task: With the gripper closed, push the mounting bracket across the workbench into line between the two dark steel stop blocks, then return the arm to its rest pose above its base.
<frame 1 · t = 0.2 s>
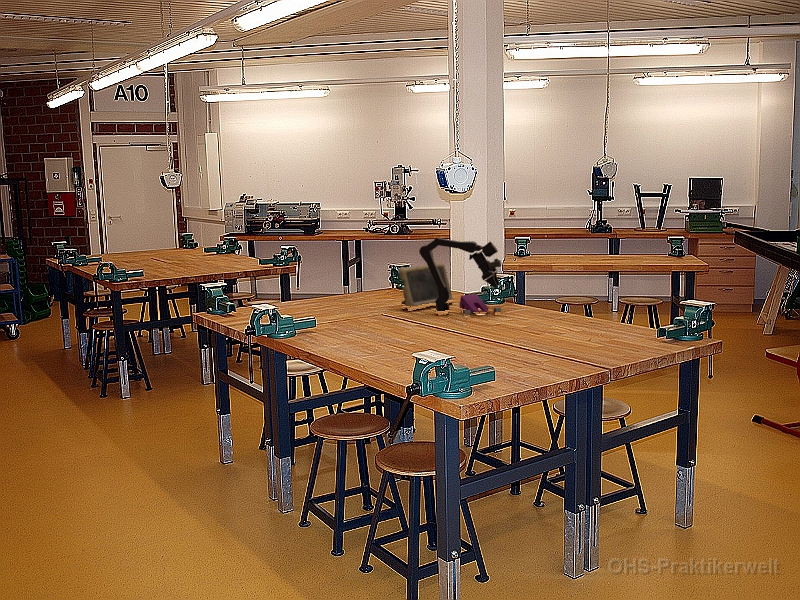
hand: (498, 286, 437), 15 cm above the table, tool tilted 30°, fingers open, 9 cm apart
stop blocks: (482, 316, 434), on the table
mounting bracket: (475, 314, 445), on the table
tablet: (426, 307, 474), on the table
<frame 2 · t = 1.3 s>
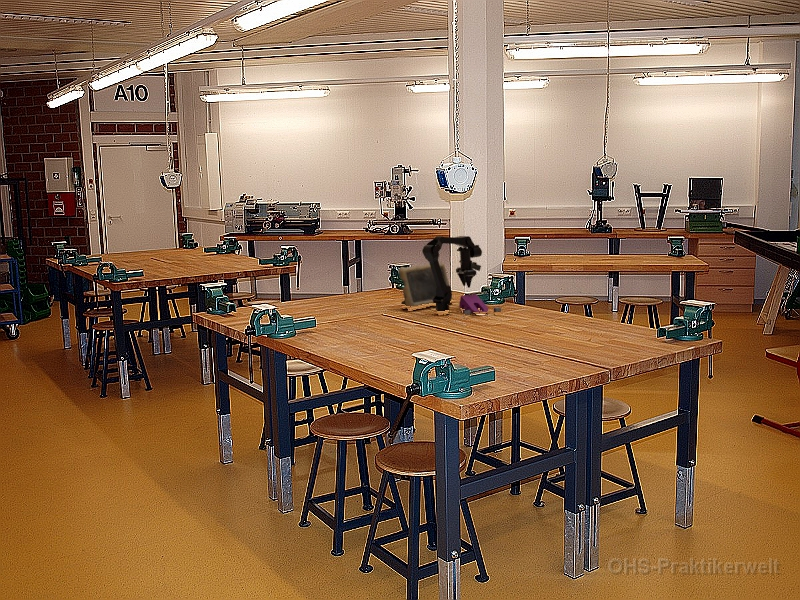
hand: (466, 286, 456), 13 cm above the table, tool pointing down, fingers open, 8 cm apart
nothing on the table moved.
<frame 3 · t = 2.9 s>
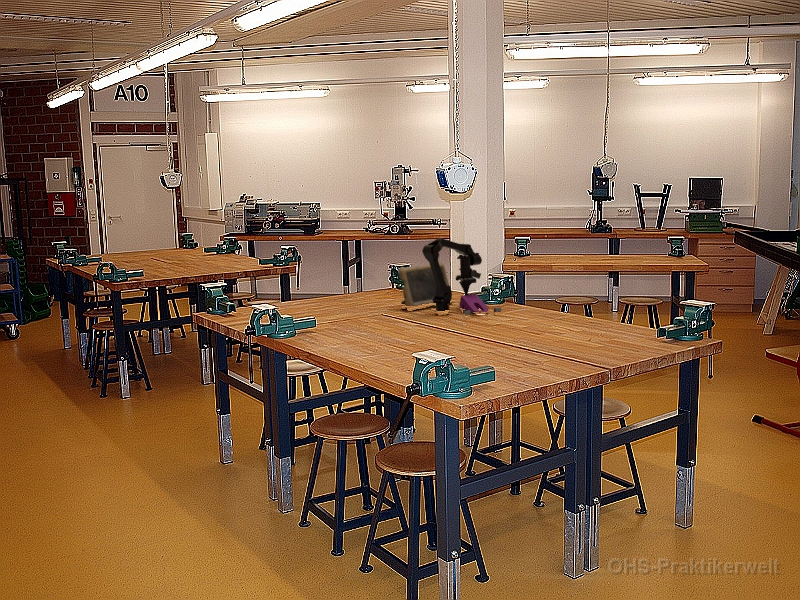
hand: (466, 294, 457), 9 cm above the table, tool pointing down, fingers closed
nothing on the table moved.
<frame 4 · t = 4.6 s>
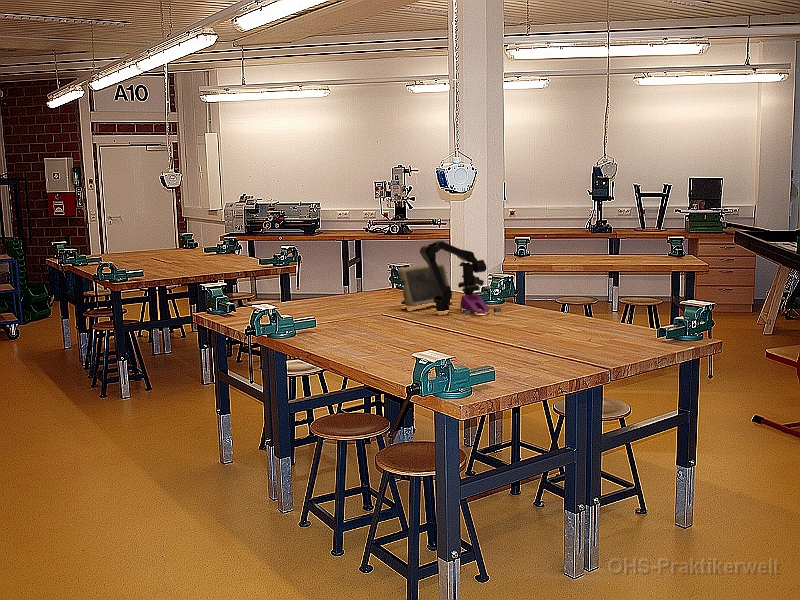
hand: (469, 301, 453), 5 cm above the table, tool pointing down, fingers closed
mounting bracket: (476, 314, 444), on the table, touching gripper
everything else where it was.
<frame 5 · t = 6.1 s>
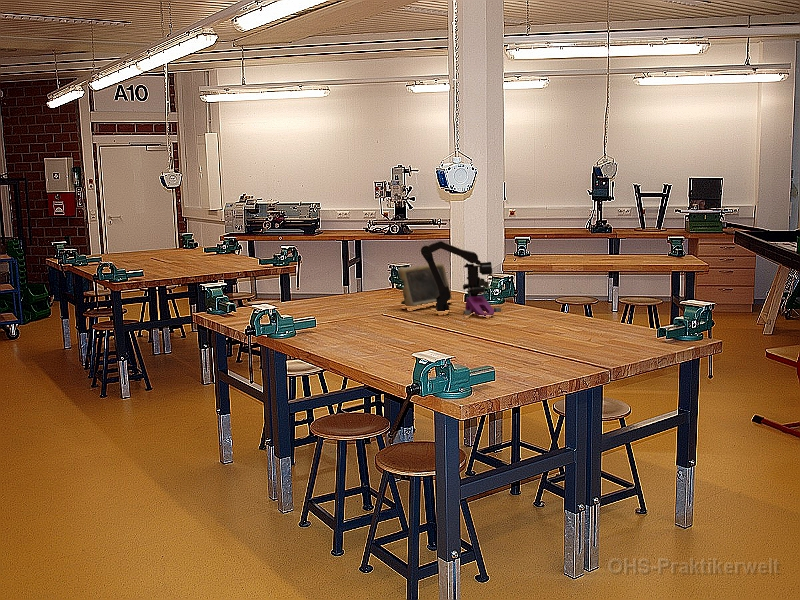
hand: (474, 303, 445), 5 cm above the table, tool pointing down, fingers closed
mounting bracket: (481, 316, 436), on the table, touching gripper
everything else where it was.
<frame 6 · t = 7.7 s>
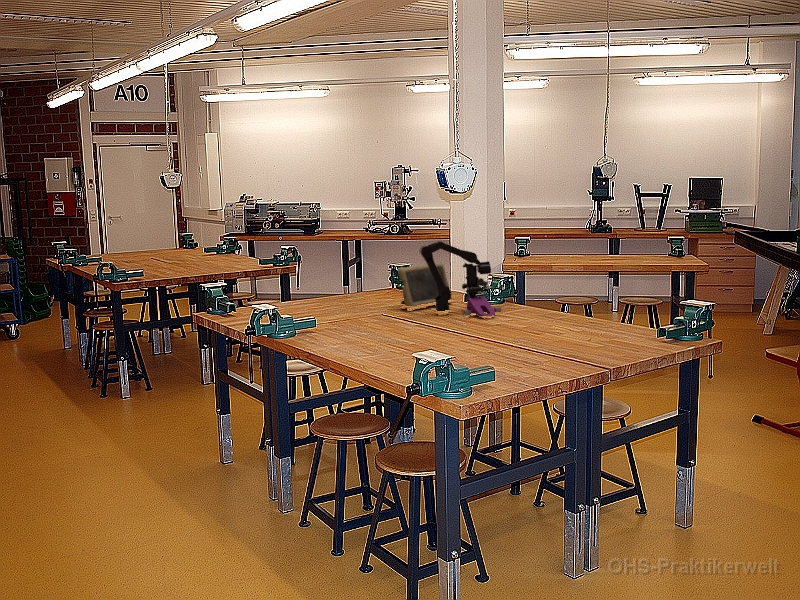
hand: (472, 303, 448), 5 cm above the table, tool pointing down, fingers closed
mounting bracket: (482, 317, 435), on the table
everything else where it was.
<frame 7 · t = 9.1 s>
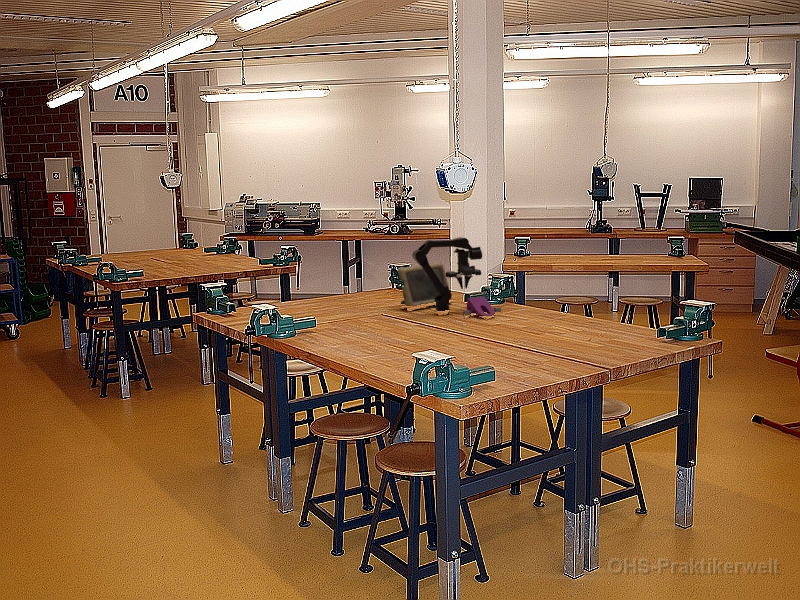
hand: (464, 289, 448), 13 cm above the table, tool pointing down, fingers closed
nothing on the table moved.
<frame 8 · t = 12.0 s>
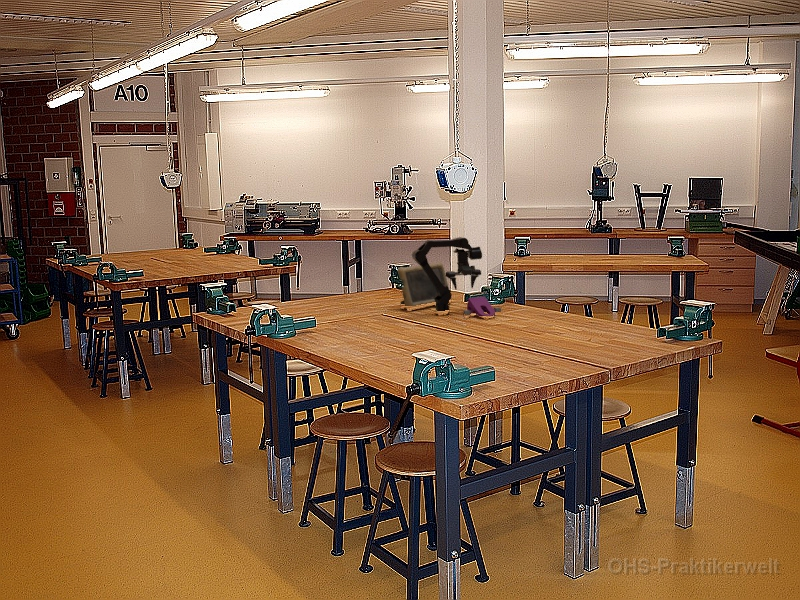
hand: (464, 289, 448), 13 cm above the table, tool pointing down, fingers open, 9 cm apart
at the end: mounting bracket inside the target area (0.2 cm from its centre), on the table; mounting bracket tilted 0°; the gripper is holding nothing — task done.
